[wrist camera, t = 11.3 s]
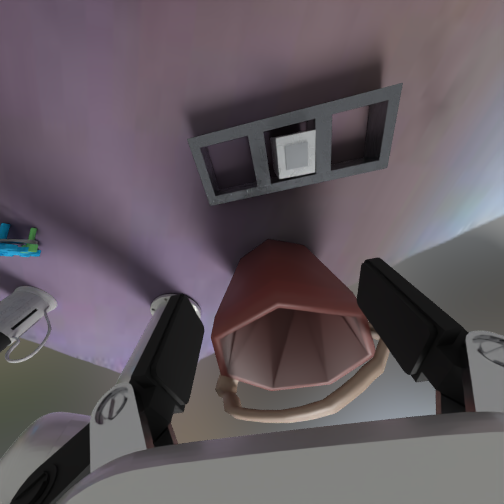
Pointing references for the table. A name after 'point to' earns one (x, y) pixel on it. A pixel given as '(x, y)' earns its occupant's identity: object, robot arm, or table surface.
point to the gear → (6, 247)
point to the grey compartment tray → (320, 120)
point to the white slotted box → (294, 154)
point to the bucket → (292, 333)
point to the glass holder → (23, 316)
